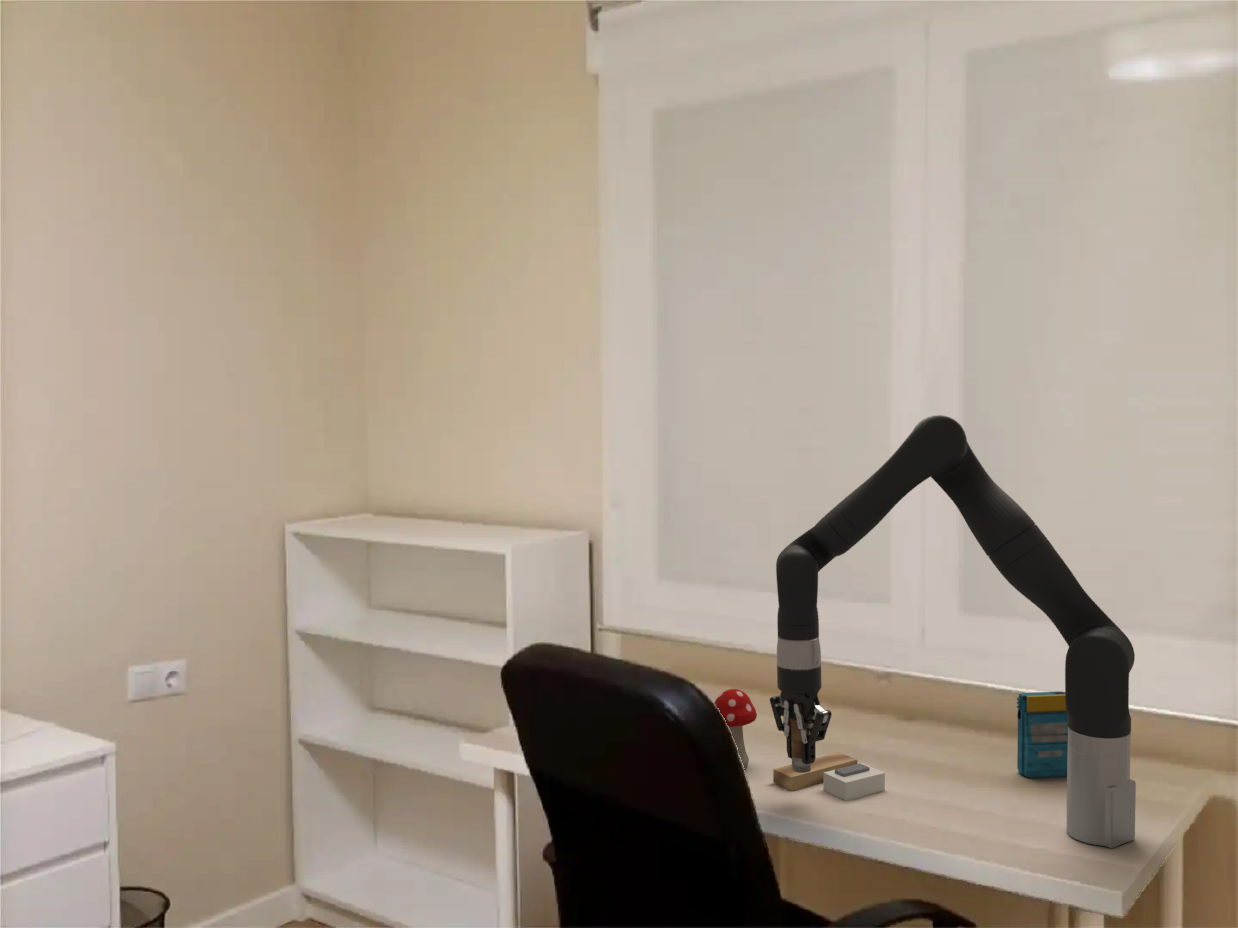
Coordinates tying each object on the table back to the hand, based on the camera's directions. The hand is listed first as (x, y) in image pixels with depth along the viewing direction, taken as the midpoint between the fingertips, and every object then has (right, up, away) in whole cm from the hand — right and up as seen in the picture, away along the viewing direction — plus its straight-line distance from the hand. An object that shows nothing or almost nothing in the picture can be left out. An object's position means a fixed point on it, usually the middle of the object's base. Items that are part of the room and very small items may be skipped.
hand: (801, 759), depth 198 cm
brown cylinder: (0, -2, 0) cm, 2 cm away
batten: (+5, -6, +12) cm, 15 cm away
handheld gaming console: (+47, -6, +11) cm, 48 cm away
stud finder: (+10, -7, +6) cm, 14 cm away
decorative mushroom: (-10, -6, +18) cm, 22 cm away
